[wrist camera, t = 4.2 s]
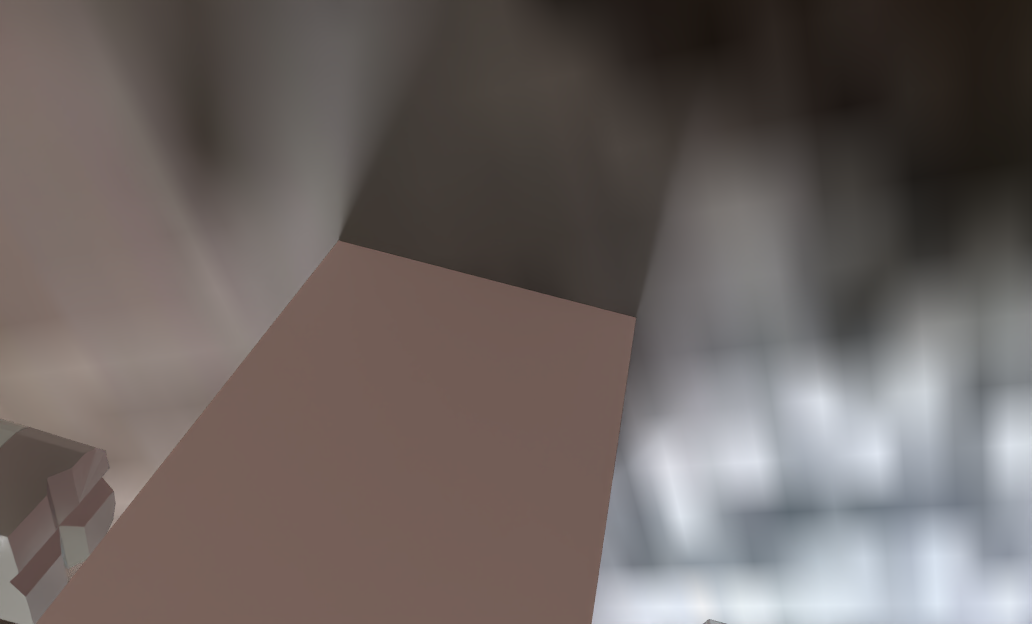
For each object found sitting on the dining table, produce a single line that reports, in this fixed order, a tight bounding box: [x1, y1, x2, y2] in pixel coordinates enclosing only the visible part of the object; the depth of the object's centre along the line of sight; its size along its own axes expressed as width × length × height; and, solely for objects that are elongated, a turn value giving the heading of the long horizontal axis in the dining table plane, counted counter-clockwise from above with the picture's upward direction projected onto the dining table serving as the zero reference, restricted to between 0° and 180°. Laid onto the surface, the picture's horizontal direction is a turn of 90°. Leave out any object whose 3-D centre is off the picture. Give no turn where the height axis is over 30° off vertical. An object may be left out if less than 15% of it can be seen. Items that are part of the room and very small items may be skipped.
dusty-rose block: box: [36, 240, 636, 624], centre depth 10 cm, size 5×5×8 cm
